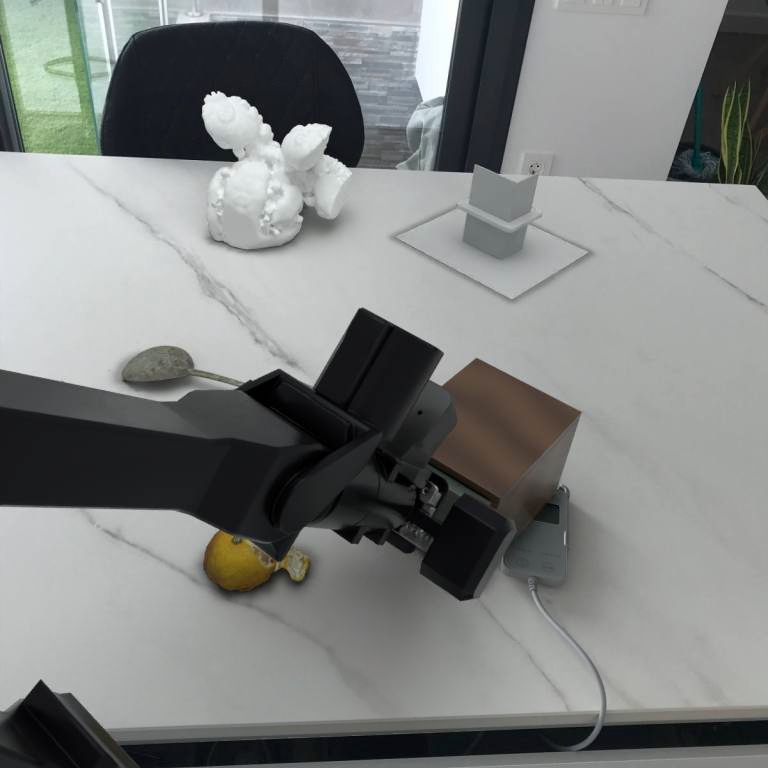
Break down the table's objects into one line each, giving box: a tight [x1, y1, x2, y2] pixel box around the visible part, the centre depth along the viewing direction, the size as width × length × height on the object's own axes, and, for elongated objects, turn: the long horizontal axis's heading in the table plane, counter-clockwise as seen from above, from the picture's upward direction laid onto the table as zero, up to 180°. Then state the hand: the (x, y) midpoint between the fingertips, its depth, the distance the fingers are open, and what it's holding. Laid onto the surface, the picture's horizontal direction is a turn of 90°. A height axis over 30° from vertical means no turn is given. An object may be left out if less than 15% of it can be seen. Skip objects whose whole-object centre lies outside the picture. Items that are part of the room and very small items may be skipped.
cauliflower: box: [201, 90, 353, 251], centre depth 107 cm, size 19×20×20 cm
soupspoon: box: [121, 345, 245, 388], centre depth 81 cm, size 22×3×7 cm
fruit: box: [202, 529, 311, 593], centre depth 65 cm, size 8×8×4 cm
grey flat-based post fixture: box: [395, 164, 590, 300], centre depth 107 cm, size 19×21×12 cm
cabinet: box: [429, 357, 583, 550], centre depth 69 cm, size 14×11×11 cm
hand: (423, 500), depth 62 cm, fingers closed
